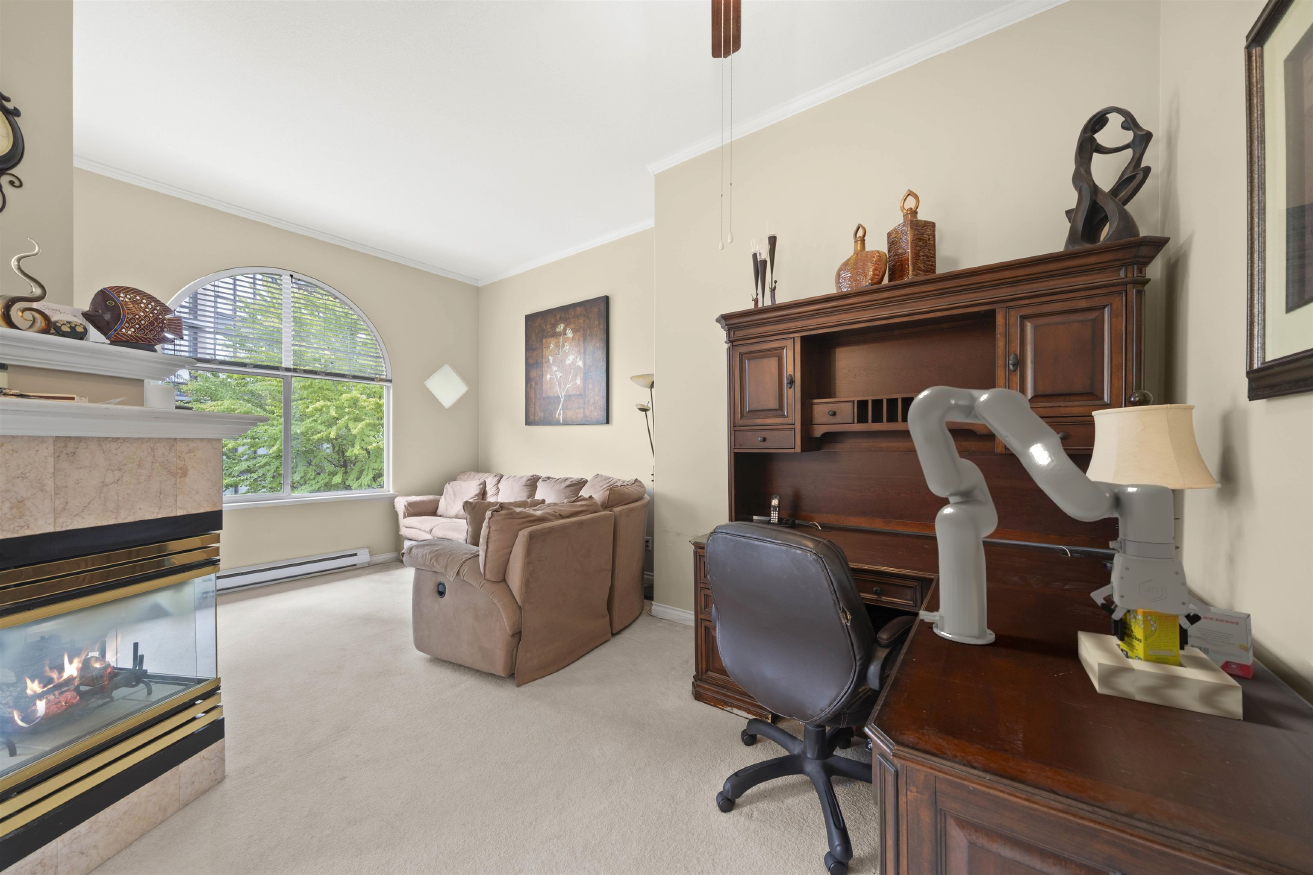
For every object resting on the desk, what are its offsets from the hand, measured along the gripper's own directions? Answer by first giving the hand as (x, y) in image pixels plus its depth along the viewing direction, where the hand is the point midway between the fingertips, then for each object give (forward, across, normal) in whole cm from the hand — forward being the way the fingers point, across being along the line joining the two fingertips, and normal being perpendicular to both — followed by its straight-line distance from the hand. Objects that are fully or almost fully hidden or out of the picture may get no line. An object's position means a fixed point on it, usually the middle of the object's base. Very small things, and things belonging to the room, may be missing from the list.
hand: (1148, 642), depth 94 cm
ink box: (+8, +14, +16) cm, 23 cm away
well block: (+8, 0, 0) cm, 8 cm away
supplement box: (+4, 0, 0) cm, 4 cm away
